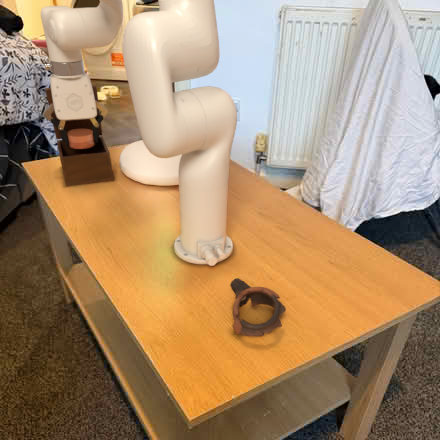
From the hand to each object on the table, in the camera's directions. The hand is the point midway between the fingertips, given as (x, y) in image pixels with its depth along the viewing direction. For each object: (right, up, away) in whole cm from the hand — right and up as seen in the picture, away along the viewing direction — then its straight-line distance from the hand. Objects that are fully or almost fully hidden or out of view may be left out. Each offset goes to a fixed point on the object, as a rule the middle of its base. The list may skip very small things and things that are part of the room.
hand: (81, 141), depth 110 cm
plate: (+22, -5, +10) cm, 24 cm away
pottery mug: (+43, -46, -39) cm, 74 cm away
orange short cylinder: (0, -1, 0) cm, 1 cm away
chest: (0, -7, +6) cm, 9 cm away
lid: (-1, +7, 0) cm, 7 cm away
